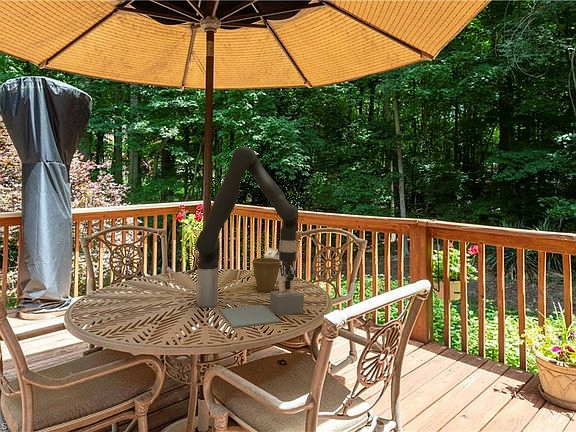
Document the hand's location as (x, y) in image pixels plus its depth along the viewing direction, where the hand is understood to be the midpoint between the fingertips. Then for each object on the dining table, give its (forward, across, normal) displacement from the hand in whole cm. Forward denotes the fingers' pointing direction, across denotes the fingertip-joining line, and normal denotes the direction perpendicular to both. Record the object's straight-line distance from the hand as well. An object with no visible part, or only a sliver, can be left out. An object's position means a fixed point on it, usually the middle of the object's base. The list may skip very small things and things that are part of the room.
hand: (286, 288), depth 180 cm
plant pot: (+10, -35, +3) cm, 37 cm away
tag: (+6, 0, 0) cm, 6 cm away
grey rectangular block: (+10, 0, 0) cm, 10 cm away
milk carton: (+10, -52, +13) cm, 55 cm away
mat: (+10, +2, -18) cm, 21 cm away
